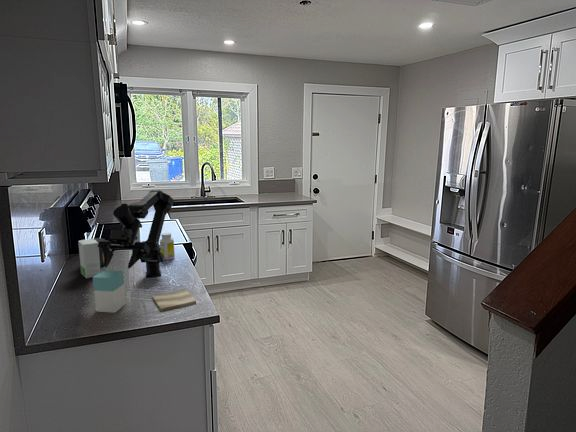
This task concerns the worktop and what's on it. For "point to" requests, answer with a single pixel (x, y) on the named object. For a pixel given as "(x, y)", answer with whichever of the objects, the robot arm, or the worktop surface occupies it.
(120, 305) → the cream storage box
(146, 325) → the worktop surface
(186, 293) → the oak board
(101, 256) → the supplement container
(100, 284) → the aqua cube
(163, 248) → the supplement bottle
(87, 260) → the skincare box
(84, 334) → the worktop surface
